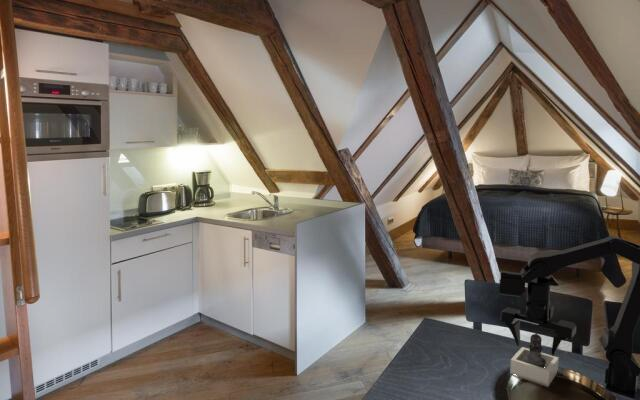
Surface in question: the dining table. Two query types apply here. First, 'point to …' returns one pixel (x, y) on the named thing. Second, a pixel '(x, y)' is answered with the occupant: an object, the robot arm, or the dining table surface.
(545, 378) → the box
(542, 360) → the dark grey tall piece
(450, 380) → the dining table surface
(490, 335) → the dining table surface
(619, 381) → the robot arm
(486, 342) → the dining table surface
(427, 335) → the dining table surface
